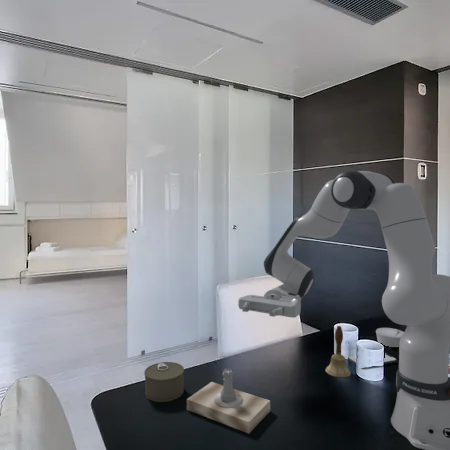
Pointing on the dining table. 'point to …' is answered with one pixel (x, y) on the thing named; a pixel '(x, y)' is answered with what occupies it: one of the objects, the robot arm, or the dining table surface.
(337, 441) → the dining table surface
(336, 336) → the hand bell
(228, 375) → the rook chess piece
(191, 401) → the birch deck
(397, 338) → the ramekin
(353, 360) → the phone case
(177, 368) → the can
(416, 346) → the robot arm
